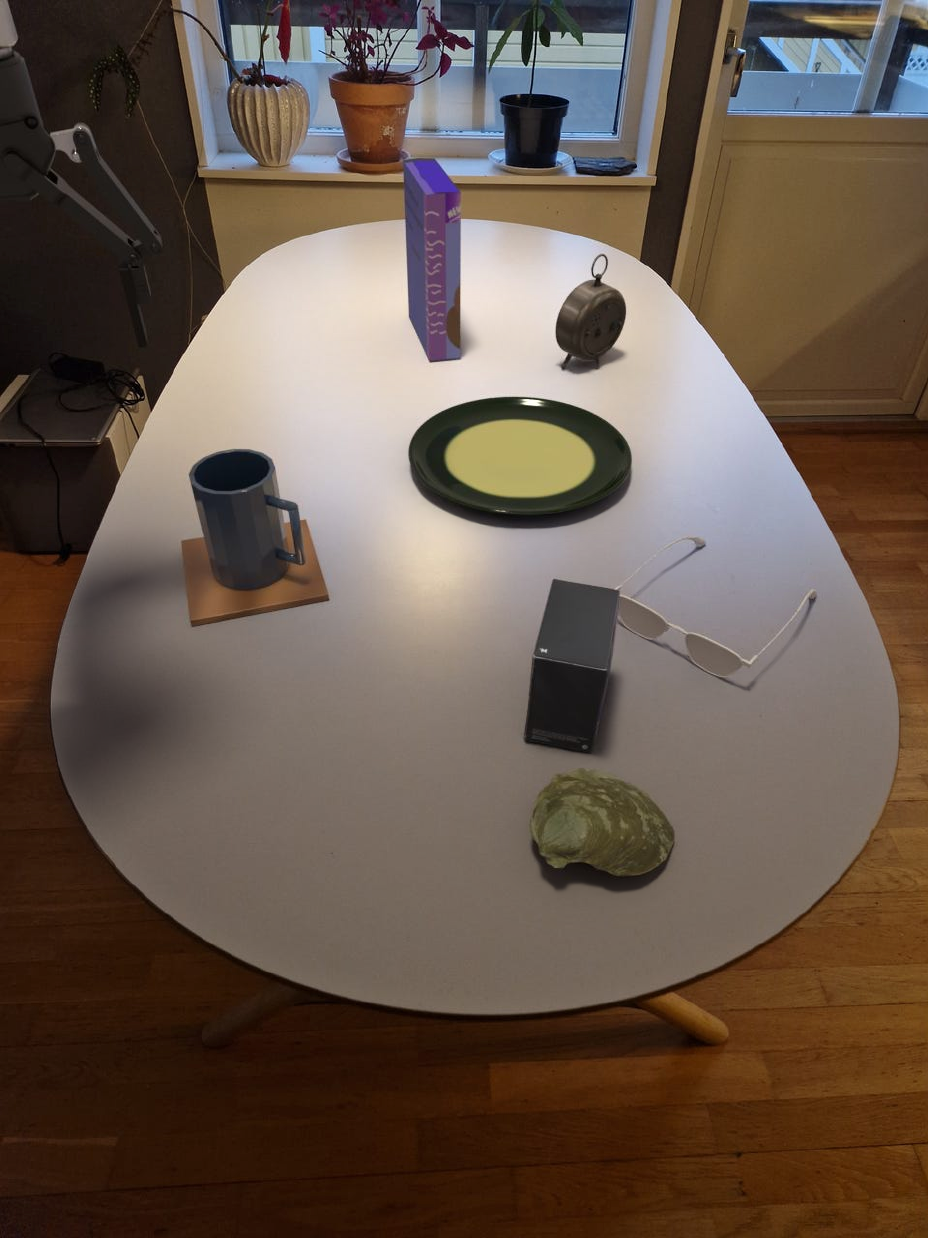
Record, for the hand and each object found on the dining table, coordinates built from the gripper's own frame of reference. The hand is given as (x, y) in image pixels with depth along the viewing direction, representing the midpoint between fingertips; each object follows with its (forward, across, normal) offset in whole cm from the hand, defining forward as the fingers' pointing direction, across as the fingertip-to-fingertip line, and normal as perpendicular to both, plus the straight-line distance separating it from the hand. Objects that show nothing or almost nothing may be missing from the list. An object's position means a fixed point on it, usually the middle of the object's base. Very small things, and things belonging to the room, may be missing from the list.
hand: (59, 351), depth 73 cm
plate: (+27, -47, -12) cm, 55 cm away
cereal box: (+27, -47, -52) cm, 75 cm away
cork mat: (+27, -12, 0) cm, 29 cm away
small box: (+27, -37, +28) cm, 54 cm away
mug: (+26, -13, +1) cm, 29 cm away
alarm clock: (+27, -67, -36) cm, 81 cm away
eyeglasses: (+27, -57, +20) cm, 66 cm away
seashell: (+27, -34, +42) cm, 60 cm away
